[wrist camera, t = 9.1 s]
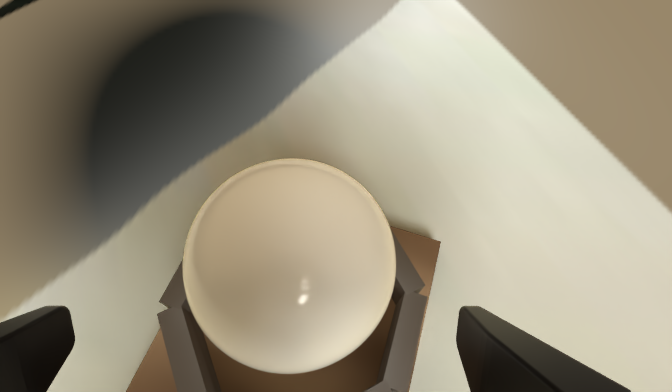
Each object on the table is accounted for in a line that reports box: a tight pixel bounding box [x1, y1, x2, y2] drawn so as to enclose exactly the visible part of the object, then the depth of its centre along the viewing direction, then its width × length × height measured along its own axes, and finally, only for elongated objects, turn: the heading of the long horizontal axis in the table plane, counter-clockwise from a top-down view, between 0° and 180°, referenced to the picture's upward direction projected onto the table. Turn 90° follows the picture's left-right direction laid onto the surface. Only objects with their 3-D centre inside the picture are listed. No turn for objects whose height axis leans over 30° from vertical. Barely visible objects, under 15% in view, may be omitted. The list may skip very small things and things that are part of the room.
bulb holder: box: [126, 226, 441, 392], centre depth 18 cm, size 12×12×4 cm
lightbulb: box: [183, 158, 396, 374], centre depth 14 cm, size 6×6×11 cm
